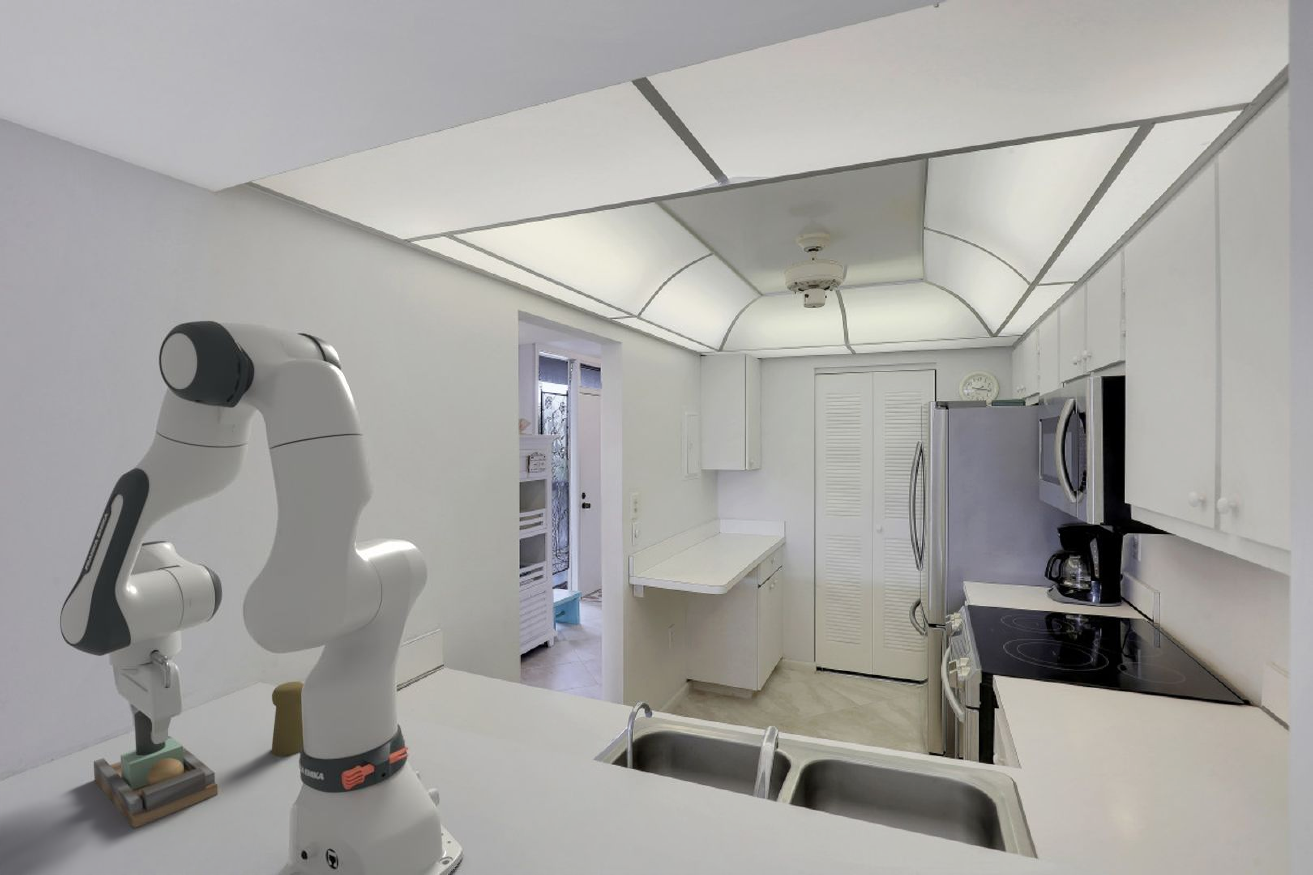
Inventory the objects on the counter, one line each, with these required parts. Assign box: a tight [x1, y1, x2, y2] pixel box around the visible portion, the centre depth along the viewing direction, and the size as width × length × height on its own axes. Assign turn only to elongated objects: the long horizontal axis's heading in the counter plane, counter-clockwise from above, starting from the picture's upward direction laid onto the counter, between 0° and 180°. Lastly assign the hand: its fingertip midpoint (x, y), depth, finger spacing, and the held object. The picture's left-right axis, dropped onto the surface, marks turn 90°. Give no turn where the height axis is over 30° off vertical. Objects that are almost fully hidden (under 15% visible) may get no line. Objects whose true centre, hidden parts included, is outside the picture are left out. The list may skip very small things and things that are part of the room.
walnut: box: [147, 758, 184, 786], centre depth 95 cm, size 4×4×4 cm
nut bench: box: [93, 735, 219, 829], centre depth 99 cm, size 22×10×4 cm, turn 52°
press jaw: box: [120, 711, 184, 790], centre depth 99 cm, size 5×7×10 cm
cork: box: [271, 681, 304, 757], centre depth 110 cm, size 6×6×11 cm
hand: (150, 733), depth 99 cm, fingers open, 8 cm apart
